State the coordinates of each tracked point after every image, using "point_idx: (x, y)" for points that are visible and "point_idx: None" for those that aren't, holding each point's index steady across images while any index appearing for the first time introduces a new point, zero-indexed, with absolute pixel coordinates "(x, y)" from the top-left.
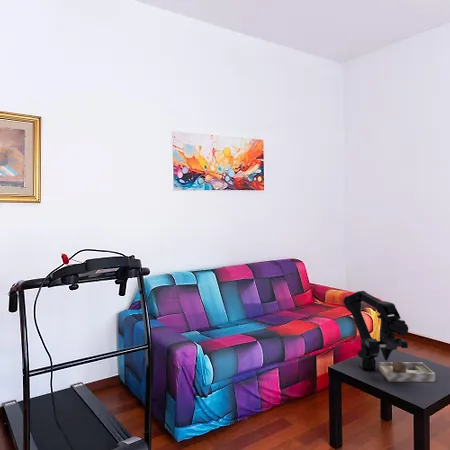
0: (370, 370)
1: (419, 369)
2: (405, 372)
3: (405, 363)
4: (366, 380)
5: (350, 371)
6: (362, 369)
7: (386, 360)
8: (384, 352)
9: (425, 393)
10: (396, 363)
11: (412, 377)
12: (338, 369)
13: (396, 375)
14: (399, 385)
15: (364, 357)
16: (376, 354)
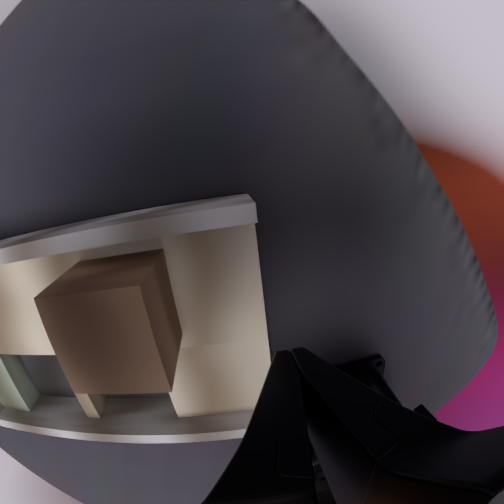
0: (336, 366)
1: (1, 365)
2: (71, 268)
3: (74, 429)
4: (413, 201)
5: (451, 325)
6: (382, 367)
7: (286, 350)
8: (406, 424)
9: (33, 53)
10: (132, 357)
11: (38, 235)
12: (487, 332)
13: (169, 211)
14: (170, 134)
15: (430, 415)
16: (325, 477)
